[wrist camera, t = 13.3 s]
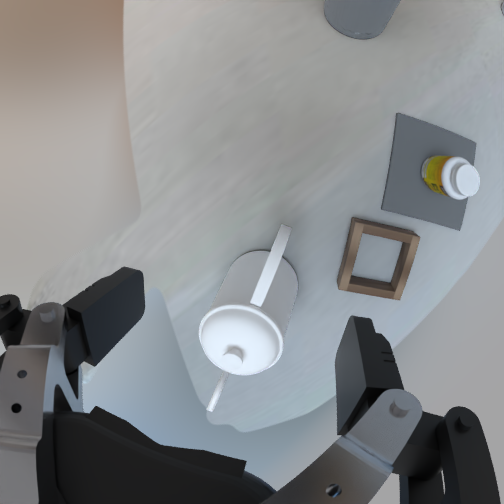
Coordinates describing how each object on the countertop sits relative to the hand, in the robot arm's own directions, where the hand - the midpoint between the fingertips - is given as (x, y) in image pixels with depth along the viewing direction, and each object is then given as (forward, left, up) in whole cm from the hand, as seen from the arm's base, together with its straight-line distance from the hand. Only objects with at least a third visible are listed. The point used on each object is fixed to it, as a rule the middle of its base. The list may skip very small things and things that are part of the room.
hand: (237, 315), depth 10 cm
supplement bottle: (-8, +20, -30) cm, 37 cm away
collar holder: (+6, +14, -30) cm, 34 cm away
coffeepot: (+14, -2, -30) cm, 33 cm away
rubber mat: (-8, +20, -30) cm, 37 cm away
